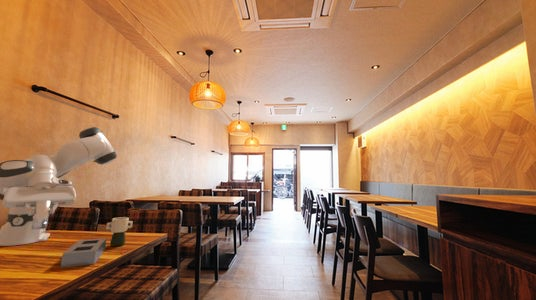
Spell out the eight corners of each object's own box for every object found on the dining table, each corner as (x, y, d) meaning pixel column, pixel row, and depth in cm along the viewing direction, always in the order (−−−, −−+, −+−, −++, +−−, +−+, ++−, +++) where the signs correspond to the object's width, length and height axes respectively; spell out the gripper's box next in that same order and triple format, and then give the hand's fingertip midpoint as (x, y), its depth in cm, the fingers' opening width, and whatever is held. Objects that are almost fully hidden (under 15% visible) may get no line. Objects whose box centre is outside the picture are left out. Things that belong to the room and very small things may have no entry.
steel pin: (34, 227, 84) (39, 200, 86) (48, 226, 86) (52, 200, 87) (29, 229, 81) (33, 201, 82) (43, 229, 82) (48, 201, 84)
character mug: (130, 242, 117) (133, 216, 119) (130, 245, 111) (133, 218, 113) (104, 244, 111) (108, 217, 113) (103, 248, 105) (106, 220, 107)
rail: (78, 251, 100) (79, 240, 100) (105, 249, 104) (106, 238, 105) (60, 268, 82) (62, 253, 82) (94, 264, 86) (95, 250, 87)
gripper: (4, 180, 82) (0, 210, 75) (76, 181, 98) (78, 206, 90) (1, 192, 84) (-3, 222, 77) (72, 191, 100) (74, 216, 92)
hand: (41, 213), depth 84 cm, fingers closed on steel pin, 4 cm apart
